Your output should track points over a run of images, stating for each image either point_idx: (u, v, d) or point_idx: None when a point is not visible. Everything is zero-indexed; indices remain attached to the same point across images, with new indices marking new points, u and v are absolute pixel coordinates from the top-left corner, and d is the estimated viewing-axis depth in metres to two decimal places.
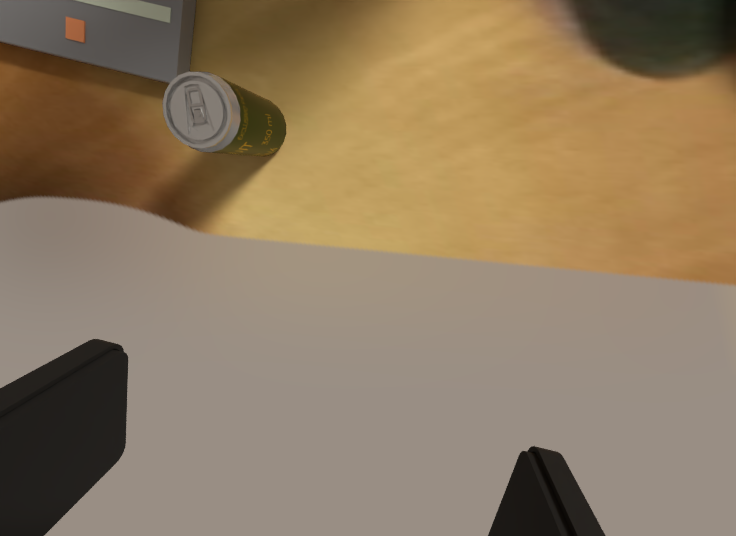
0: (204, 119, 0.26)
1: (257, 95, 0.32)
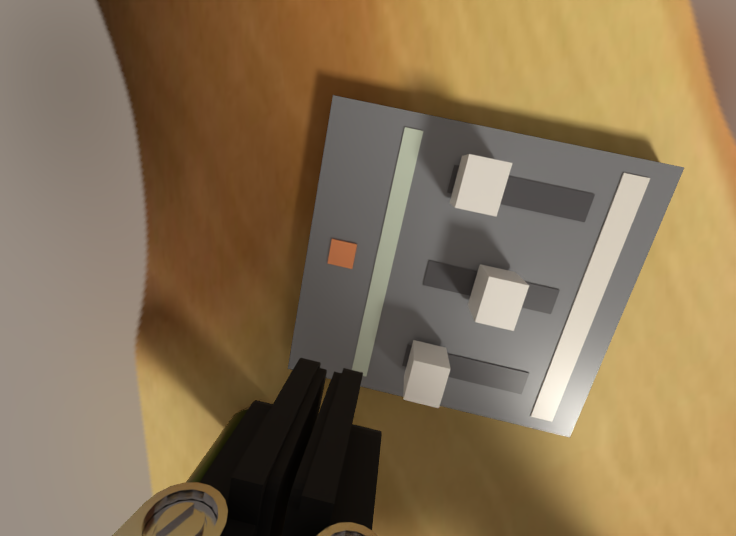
0: None
1: None
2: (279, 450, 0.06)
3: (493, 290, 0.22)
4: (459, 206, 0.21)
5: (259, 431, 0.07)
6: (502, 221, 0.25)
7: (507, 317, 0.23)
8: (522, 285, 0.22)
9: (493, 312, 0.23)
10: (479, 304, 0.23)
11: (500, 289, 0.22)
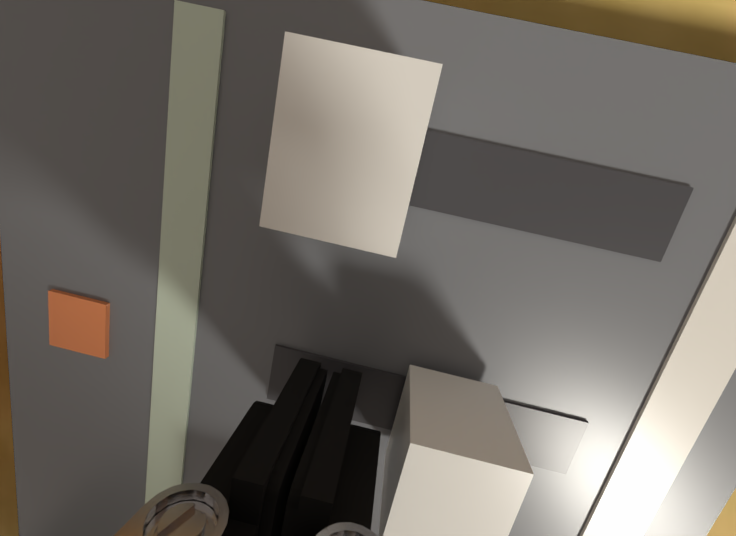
0: None
1: None
2: (280, 450, 0.06)
3: (425, 481, 0.07)
4: (273, 222, 0.06)
5: (260, 432, 0.07)
6: (445, 255, 0.10)
7: None
8: (512, 473, 0.07)
9: (426, 535, 0.08)
10: (389, 506, 0.08)
11: (446, 479, 0.07)
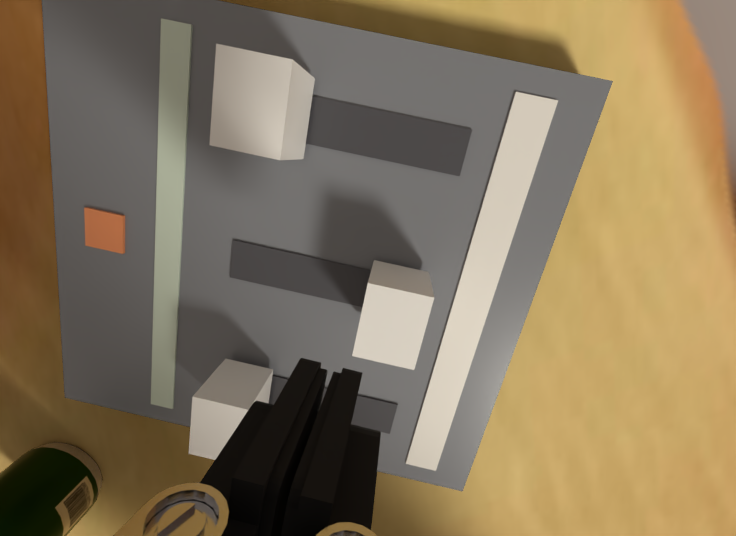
0: None
1: None
2: (279, 451, 0.06)
3: (376, 305, 0.13)
4: (216, 142, 0.12)
5: (260, 432, 0.07)
6: (334, 176, 0.16)
7: (402, 349, 0.14)
8: (423, 297, 0.13)
9: (379, 340, 0.14)
10: (358, 327, 0.14)
11: (388, 304, 0.13)
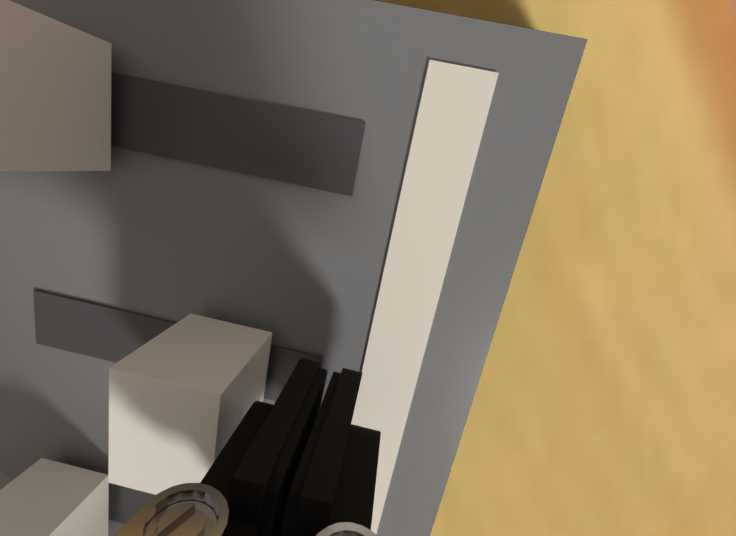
0: None
1: None
2: (280, 450, 0.06)
3: (130, 405, 0.08)
4: None
5: (260, 431, 0.07)
6: (167, 197, 0.10)
7: (185, 474, 0.08)
8: (201, 394, 0.08)
9: (145, 460, 0.08)
10: (118, 434, 0.08)
11: (148, 402, 0.08)
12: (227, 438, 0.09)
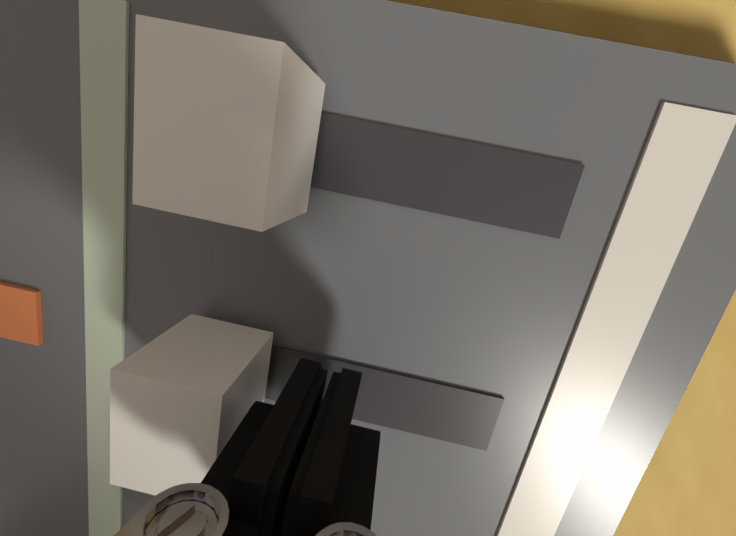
0: None
1: None
2: (280, 451, 0.06)
3: (131, 406, 0.08)
4: (144, 200, 0.07)
5: (260, 432, 0.07)
6: (355, 237, 0.10)
7: (186, 476, 0.08)
8: (203, 395, 0.08)
9: (147, 461, 0.08)
10: (119, 436, 0.08)
11: (149, 404, 0.08)
12: None
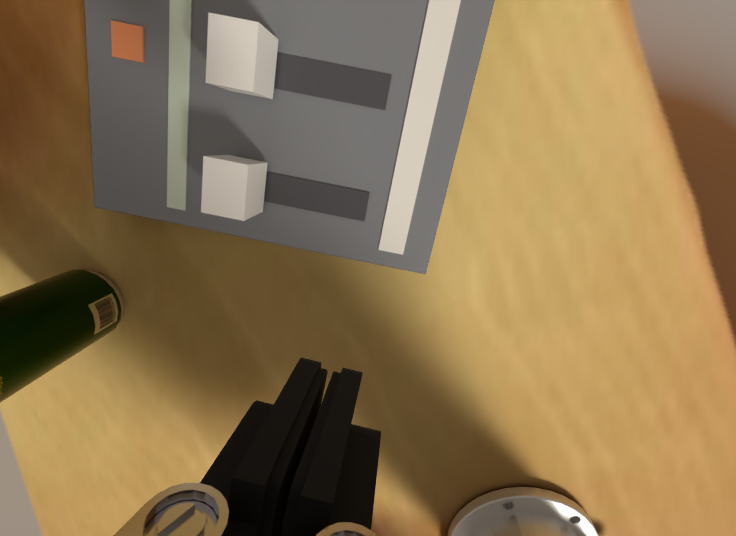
0: None
1: (81, 344, 0.25)
2: (280, 451, 0.06)
3: (217, 33, 0.18)
4: None
5: (260, 432, 0.07)
6: None
7: (242, 72, 0.18)
8: (250, 22, 0.17)
9: (223, 65, 0.18)
10: (209, 59, 0.18)
11: (225, 31, 0.18)
12: (260, 62, 0.18)
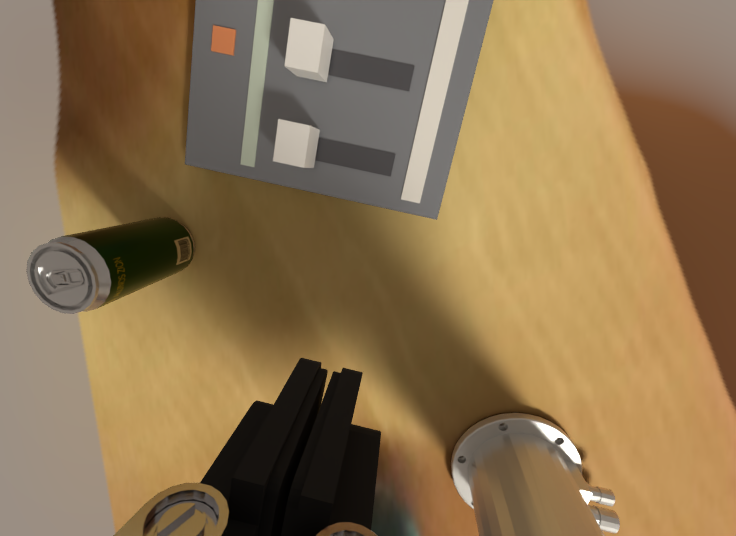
0: (57, 285, 0.25)
1: (167, 270, 0.32)
2: (280, 450, 0.06)
3: (295, 31, 0.25)
4: None
5: (260, 432, 0.07)
6: None
7: (310, 59, 0.26)
8: (319, 24, 0.25)
9: (298, 54, 0.26)
10: (287, 50, 0.26)
11: (301, 30, 0.25)
12: (323, 53, 0.26)
